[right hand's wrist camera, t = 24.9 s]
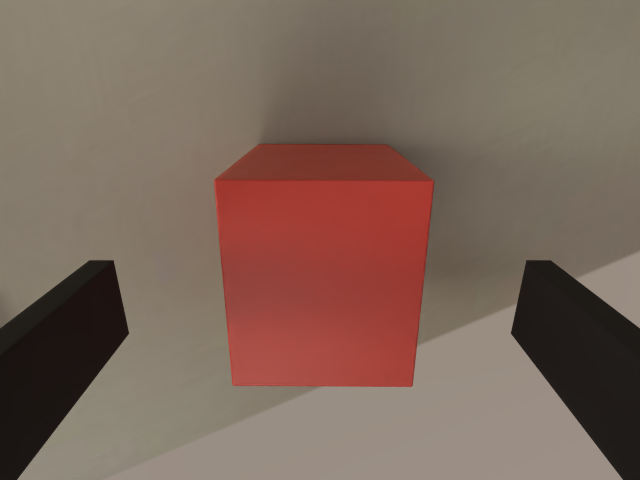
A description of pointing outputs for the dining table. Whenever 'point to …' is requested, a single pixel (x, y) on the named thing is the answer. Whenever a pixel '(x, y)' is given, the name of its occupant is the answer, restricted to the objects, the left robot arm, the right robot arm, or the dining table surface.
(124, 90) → the dining table surface
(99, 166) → the dining table surface
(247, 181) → the block
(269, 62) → the dining table surface
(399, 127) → the dining table surface
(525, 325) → the right robot arm
